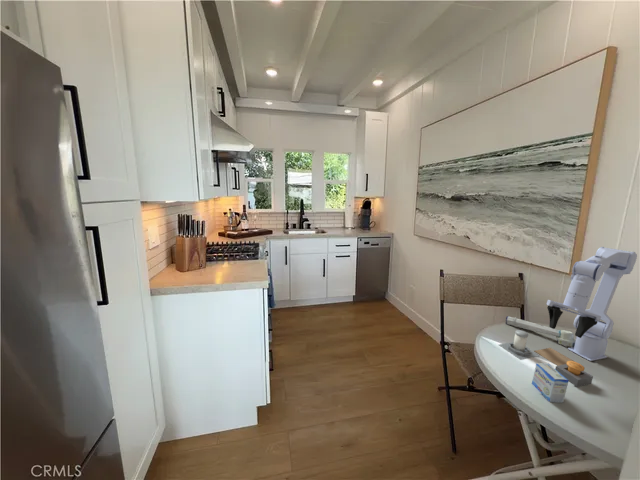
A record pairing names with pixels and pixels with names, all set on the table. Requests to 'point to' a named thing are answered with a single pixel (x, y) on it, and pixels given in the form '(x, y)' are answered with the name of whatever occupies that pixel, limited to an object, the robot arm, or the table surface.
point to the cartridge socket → (519, 354)
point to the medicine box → (550, 382)
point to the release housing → (575, 380)
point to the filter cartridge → (520, 340)
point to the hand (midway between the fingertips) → (564, 332)
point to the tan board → (553, 356)
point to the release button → (575, 368)
